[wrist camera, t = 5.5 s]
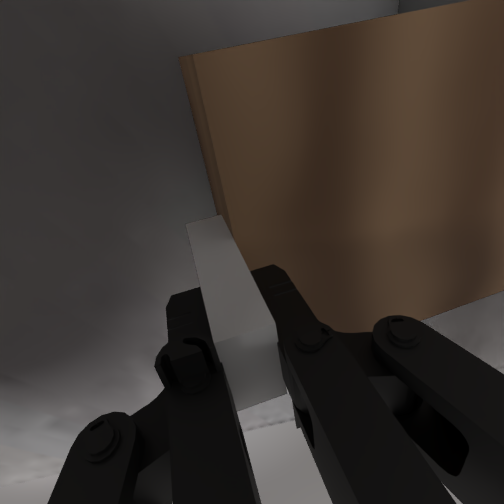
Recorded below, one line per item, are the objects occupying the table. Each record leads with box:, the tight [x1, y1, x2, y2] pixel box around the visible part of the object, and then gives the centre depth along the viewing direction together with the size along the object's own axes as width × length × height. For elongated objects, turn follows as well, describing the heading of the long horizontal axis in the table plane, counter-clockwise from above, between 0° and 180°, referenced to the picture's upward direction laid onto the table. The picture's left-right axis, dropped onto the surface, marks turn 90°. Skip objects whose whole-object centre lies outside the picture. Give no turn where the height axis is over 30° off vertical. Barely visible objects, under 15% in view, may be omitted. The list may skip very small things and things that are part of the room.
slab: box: [178, 0, 504, 333], centre depth 15 cm, size 20×13×4 cm, turn 99°
